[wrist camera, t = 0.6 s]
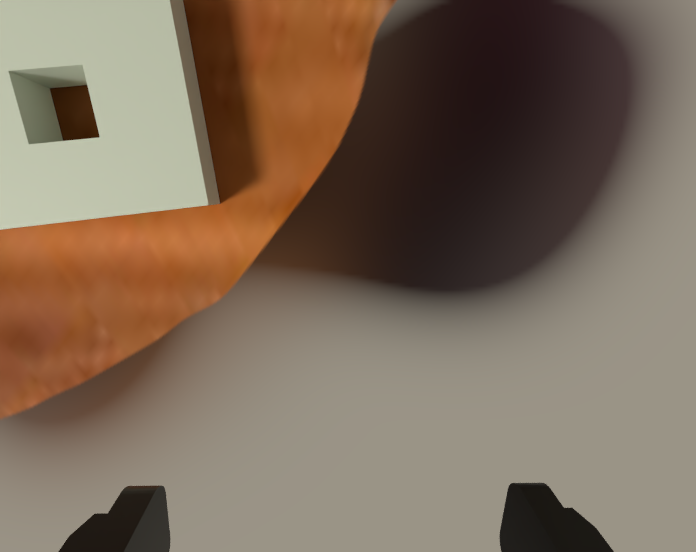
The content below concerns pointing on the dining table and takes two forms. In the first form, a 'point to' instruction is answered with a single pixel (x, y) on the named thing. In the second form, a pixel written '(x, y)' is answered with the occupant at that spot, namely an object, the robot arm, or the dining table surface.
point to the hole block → (100, 111)
